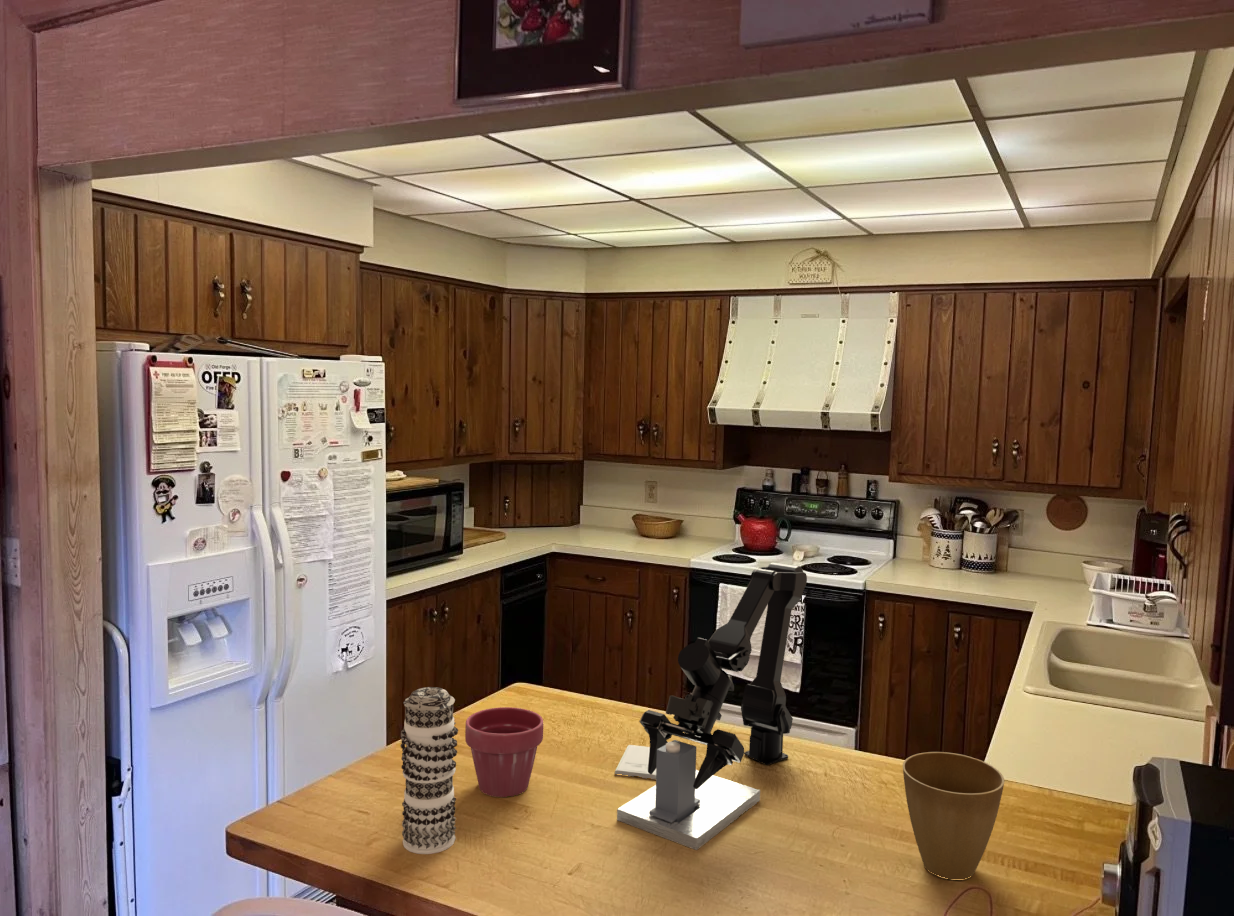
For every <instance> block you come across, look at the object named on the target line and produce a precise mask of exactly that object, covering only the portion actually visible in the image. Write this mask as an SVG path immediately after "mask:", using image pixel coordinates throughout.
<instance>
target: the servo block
mask: <svg viewBox="0 0 1234 916" xmlns="http://www.w3.org/2000/svg"><path fill="white" fill-rule="evenodd" d="M667 742H668V743H666V745H664V746H663V747H661V748H659V749H657V764H656V779H655V785H656V802H655V808H653V809H652V810H650V811H649V815H652V816H655V817H657V818H660V819H663V820H666V821H668V822H671V823H672V822H673V821H675V822H678V823H680V822H681V821H682V820H684V819H685V818H687V817H688V816H690V815H691V814H692V813H694V812H695V806H696V805H698V804H699V803H700V799H697V798H695V788H694V787H693V785H694V782H695V778H696V770H697V746H696V745H692V744H689V743H687V742H684V741H683V742H682V741H680V740H677V739H673V740H672V741H667Z"/></svg>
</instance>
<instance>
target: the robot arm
mask: <svg viewBox="0 0 1234 916" xmlns="http://www.w3.org/2000/svg"><path fill="white" fill-rule="evenodd" d="M807 579H808V575H807V574H806V572H804V570H803V567H802V566H800V565H794V564H789V563H788V564H787V563H780V562H776V561H775V562H770V563H769V564H768V566H759V567H758V568H755V569H753V570H752V572H751V575H750V579H749V580H750V581H749V583H748V584H747V587H746V588H745V591H744V592H743V594H742V596H741V597H740V600H739V602H738V603H737V605H736V607H735V609H734V611H733V612H732V614H731V617H730V619H729V620H728V621H727V623H726V624H724V625H722V626H720V627H718V628H717V629H716V630H715V631H714V633H713V634H712V635H711V637H710V638H709V639H706V638H705V639H704V638H702V637H696V640H695V641H694V642H692V643H689V644H688V645H686V646H685V647H683V648H682V649H681V650H680V652H679V653H678V657H677V663H678V665H679V667H680V668H681V670H682V671H683V673H684V674H685V676H686V677H687V678H688V680H689V681H690V682H691V683H692V685H694V688H693V690H692V693H691V694H689V693H687V694H686V695H685V697H684V698H681V697H679V696H678V697H677V696H675V695H669V698H668V702H667V706H666V711H665V713H661V712H657V711H654V710H650V709H649V710H646V711H644V712H643V713H642V715H641V717H640V720H639V723H640V724H641V726H642V727H643V729H644V731H645V732H646V733H647V734H648V737H649V747H650V752H649V763H648V772H649V774H652V773H653V772H654V771H655V769H656V764H657V749H659V748H661V747H663V746H664V745H666V743H668V742H669V741H668V740H669V739H671V738H672V736H675V737H679V738H681V739H685V740H689V741H692V742H695V743H699V744H700V745H701V744H702V745H706V751H705V752H706V753H705V757H704V759H703V761H702V764H701V765H700V768H699V770H698V771H699V772H698V774H697V776H696V779H695V782H694V785H693V787H694V788H695V789H698V788H699V787H700V786H701V785H703V784H704V783H705V782H706V781H707V780H708V779H709V778H710V777H711V776H713V775H714V776H715V774H717V773H718V772H719V771H721V770H722V769H723V768H725V767H726V766H727V765H730V766H732V765H733V763H734V762H736V763H739V764H740V763H741V762H742V760H743V757H744V755H745V756H746V757H748V758H750V759H752V760H755V761H757V762H759V763H761V764H763V765H766V766H770V765H773V764H775V763H778V762H781V761H783V760H786V759H788V758H789V755H788V754H787V753H785V752H784V751H783V747H784V734H787V735H788V734H790V733H791V730H792V726H793V717H792V715H791V713H790V711H789V710H788V708H787V706H786V703H787V695H786V693H785V690H784V687H783V684H782V681H781V680H782V672H783V667H784V666H783V665H784V660H785V655H786V649H787V648H786V647H787V642H788V634H789V627H790V621H791V616H792V611H793V608H795V606H796V605H797V604H798V603H799V602H800V601H801V599H802V598H803V593H804V589H805V588H806V585H807V581H808V580H807ZM766 609H767V610H766ZM765 611H766V615H765V621H764V626H763V634H762V639H761V645H760V651H759V657H758V664H757V668H756V669H757V670H756V676H755V677H754V679H753V680H752V681H751V682H750V683H747V684H745V686H744V688H743V689H744V691H743V698H742V700H741V704H740V712H741V716H742V717H741V718H742V722H743V723H742V724H743V726H745V727H750V735H749V744H748V745H749V747H748V748H749V750H747V751H745V748H744V745H743V743H742V742H741V741H740V739H739V738H738V736H737V735H736V734H735V733H733V732H728V731H726V730H722V729H720V728H717V729H715V730H714V731H713V733H712V730H713V728H714V725H715V723H716V721H720V720H721V719H722V716H723V715H722V714H721V713H720V712H721V709H722V707H723V704H724V702H725V699H726V697H727V694H728V693H729V691H730V692H734V691H735V685H734V683H733V678H732V675H730V674H728V673H727V672H726V671H731V672H734V673H737V672H738V673H739V672H742V671H743V670H745V668H746V667H747V666H748V663H749V662H750V656H751V654H752V650H753V648H752V642H751V638H752V635H753V634H754V632H755V630H756V627H757V626H758V624H759V621H760V620H761V618H762V616H763V614H764V612H765ZM725 670H726V671H725ZM666 715H670V716H672V715H673V717H672V718H673V719H674V721H675V722H677V724H676V723H672V721H670V720H669V718H668V717H667V716H666Z"/></svg>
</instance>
